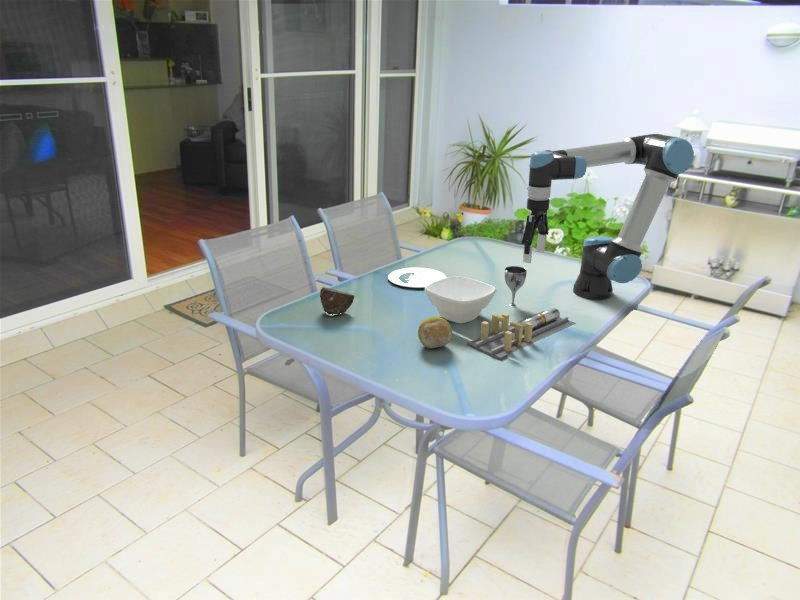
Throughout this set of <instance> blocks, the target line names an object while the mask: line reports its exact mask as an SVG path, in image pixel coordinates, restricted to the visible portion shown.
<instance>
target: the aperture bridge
mask: <svg viewBox="0 0 800 600" xmlns="http://www.w3.org/2000/svg"><path fill="white" fill-rule="evenodd" d="M504 320H505V317H502V315H501V314H498V313H497V314H496V313H494V314H492V316H491V327H490V333H491V336H493V335H495V334H498V330H499V329H500V328H499V327H500V323H501V322H503V321H504ZM517 322H518V321H515V320H512V321H510V322H509V325H510V326H512V327H515V337H514V345H515V346H517V347H519V346H521V343H522V333H523V325H522V324H520V323H517Z"/></svg>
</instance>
